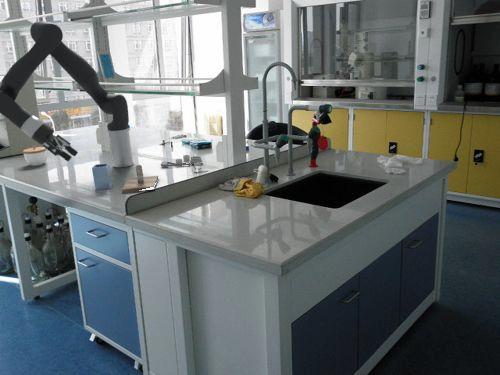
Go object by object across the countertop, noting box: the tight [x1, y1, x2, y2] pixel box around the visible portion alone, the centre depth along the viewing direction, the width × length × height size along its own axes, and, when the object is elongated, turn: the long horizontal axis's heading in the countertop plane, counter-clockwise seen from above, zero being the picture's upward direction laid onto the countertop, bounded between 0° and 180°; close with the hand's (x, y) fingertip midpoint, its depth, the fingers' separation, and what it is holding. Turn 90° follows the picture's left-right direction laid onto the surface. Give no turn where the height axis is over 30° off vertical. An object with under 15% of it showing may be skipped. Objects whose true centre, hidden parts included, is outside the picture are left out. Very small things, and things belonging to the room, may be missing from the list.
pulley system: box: [160, 154, 203, 167], centre depth 208 cm, size 27×5×15 cm
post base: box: [121, 164, 159, 194], centre depth 182 cm, size 16×12×9 cm
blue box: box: [91, 163, 113, 191], centre depth 183 cm, size 6×6×9 cm
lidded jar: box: [22, 145, 48, 167], centre depth 231 cm, size 11×11×9 cm
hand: (73, 156), depth 180 cm, fingers open, 8 cm apart
